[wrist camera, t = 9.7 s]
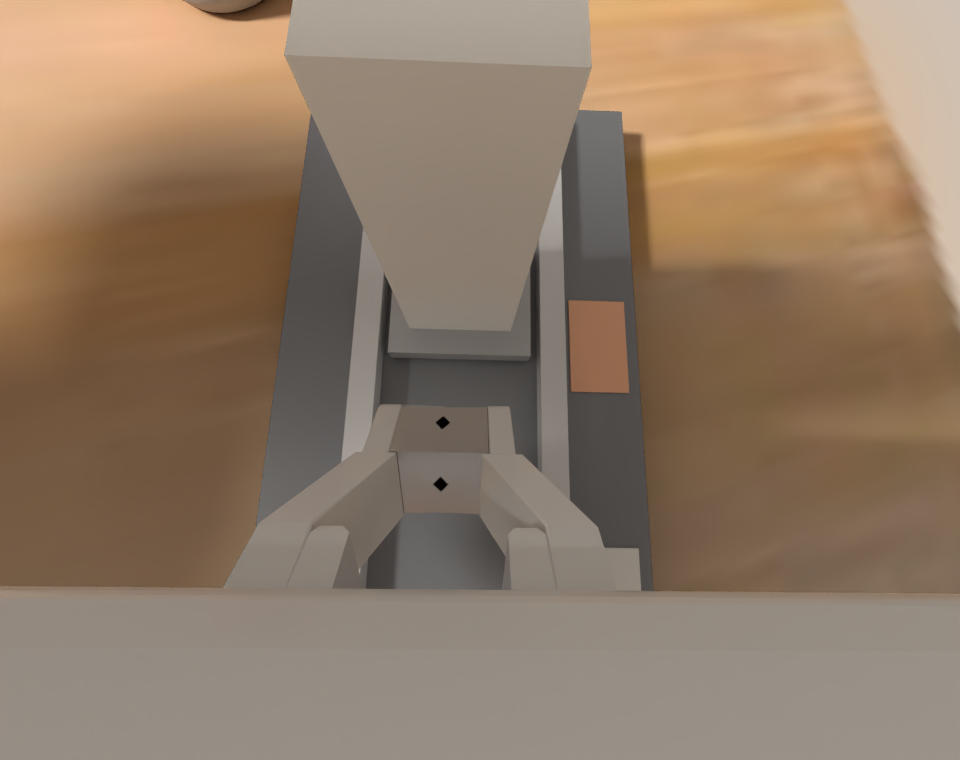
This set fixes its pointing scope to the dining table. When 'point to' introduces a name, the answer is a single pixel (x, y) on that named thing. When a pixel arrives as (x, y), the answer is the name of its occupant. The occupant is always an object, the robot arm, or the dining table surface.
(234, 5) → the soda can
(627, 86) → the dining table surface
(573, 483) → the switch panel
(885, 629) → the robot arm
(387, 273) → the lever
